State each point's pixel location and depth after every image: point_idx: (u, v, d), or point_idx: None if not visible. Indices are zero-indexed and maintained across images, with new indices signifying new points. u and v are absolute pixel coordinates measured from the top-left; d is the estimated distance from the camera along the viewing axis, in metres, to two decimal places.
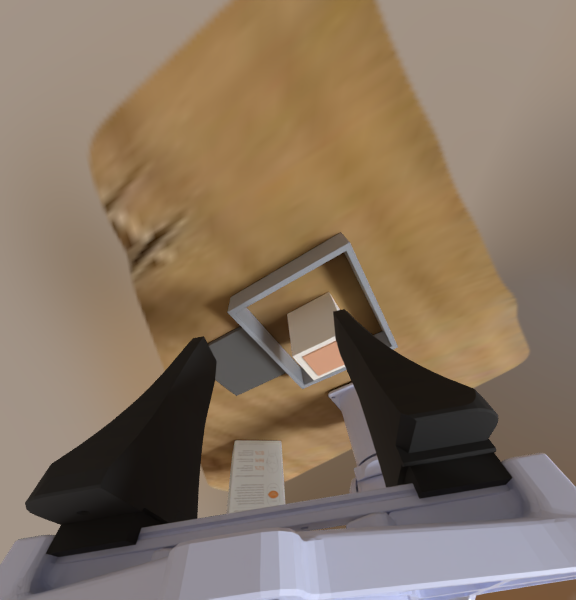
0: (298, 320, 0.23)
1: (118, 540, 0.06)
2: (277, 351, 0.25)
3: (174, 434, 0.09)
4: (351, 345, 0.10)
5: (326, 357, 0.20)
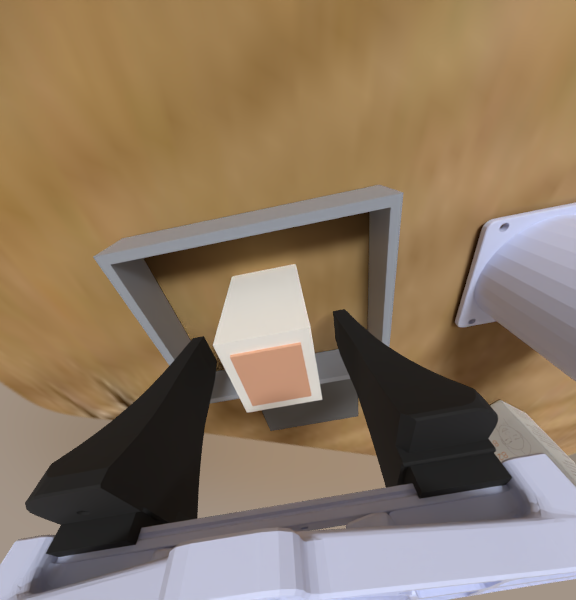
0: None
1: (118, 540, 0.06)
2: None
3: (174, 434, 0.09)
4: (351, 345, 0.10)
5: (267, 380, 0.11)
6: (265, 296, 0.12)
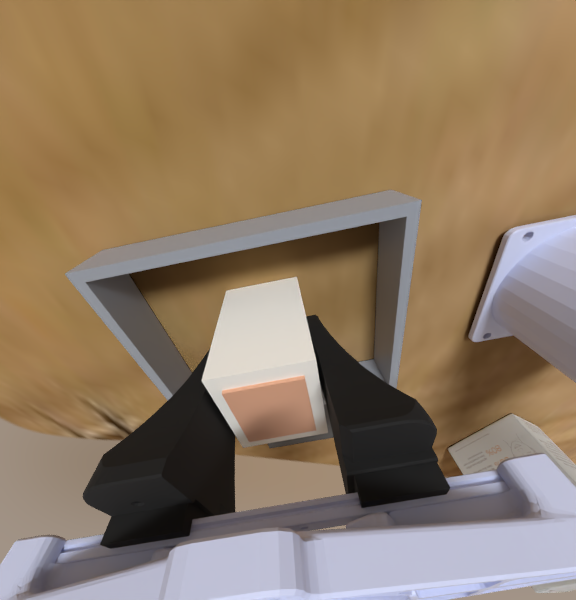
0: None
1: (118, 540, 0.06)
2: None
3: (213, 427, 0.09)
4: (315, 352, 0.10)
5: (265, 416, 0.09)
6: (263, 316, 0.10)
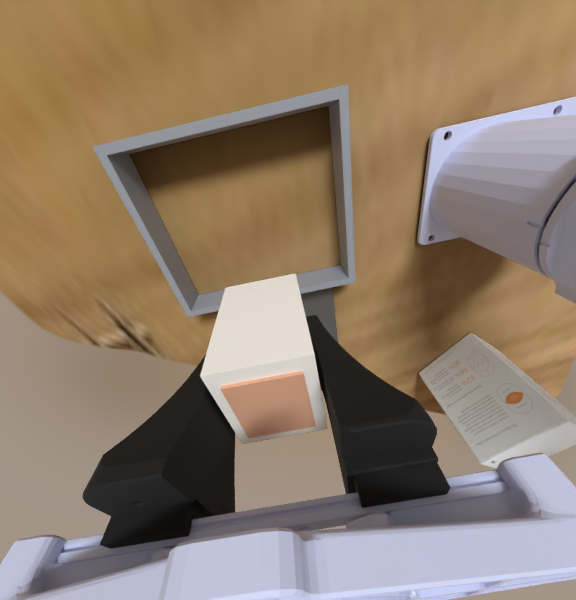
0: None
1: (118, 540, 0.06)
2: None
3: (213, 427, 0.09)
4: (315, 352, 0.10)
5: (264, 412, 0.09)
6: (261, 313, 0.10)
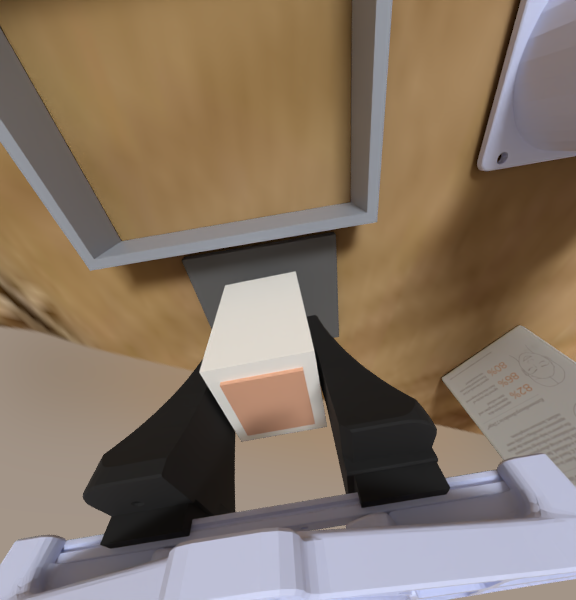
0: None
1: (118, 540, 0.06)
2: (246, 227, 0.12)
3: (213, 427, 0.09)
4: (315, 352, 0.10)
5: (264, 409, 0.09)
6: (261, 310, 0.10)
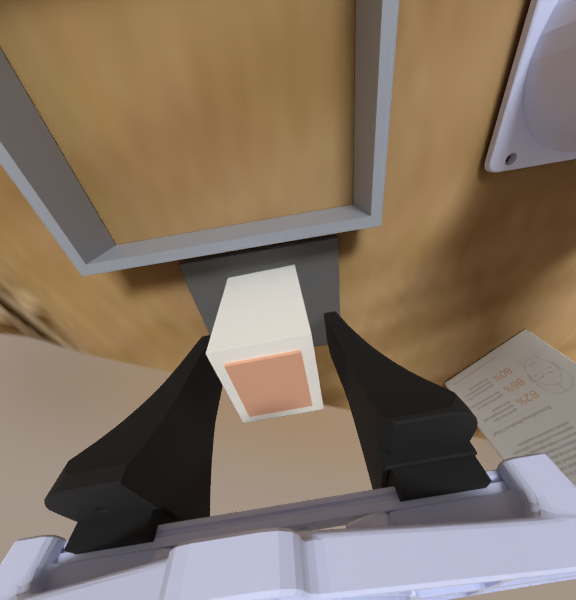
0: None
1: (118, 540, 0.06)
2: (244, 230, 0.11)
3: (187, 432, 0.09)
4: (339, 347, 0.10)
5: (264, 390, 0.10)
6: (262, 299, 0.11)
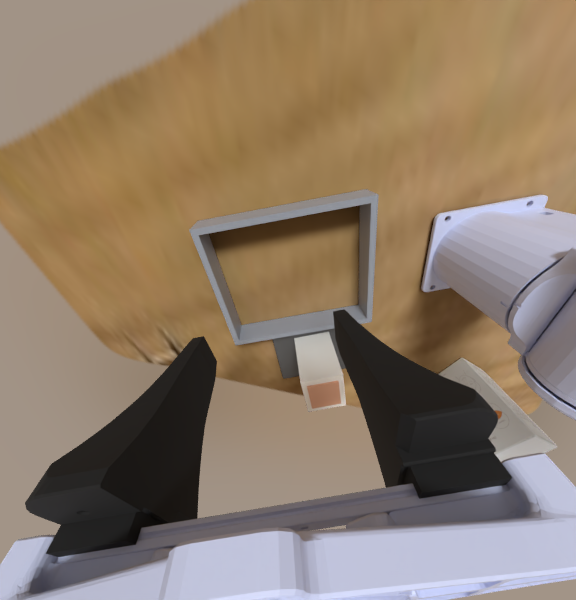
0: None
1: (118, 540, 0.06)
2: (308, 322, 0.24)
3: (174, 434, 0.09)
4: (351, 345, 0.10)
5: (321, 397, 0.23)
6: (317, 354, 0.24)
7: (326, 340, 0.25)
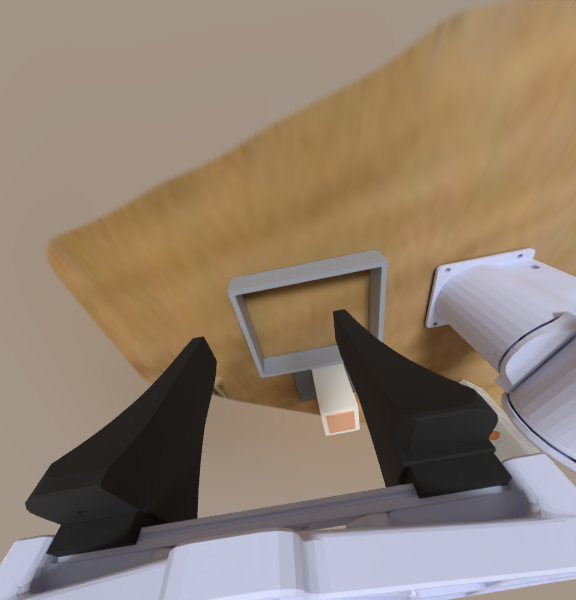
0: None
1: (118, 540, 0.06)
2: (324, 356, 0.27)
3: (174, 434, 0.09)
4: (351, 345, 0.10)
5: (338, 424, 0.26)
6: (333, 385, 0.27)
7: (340, 371, 0.28)
